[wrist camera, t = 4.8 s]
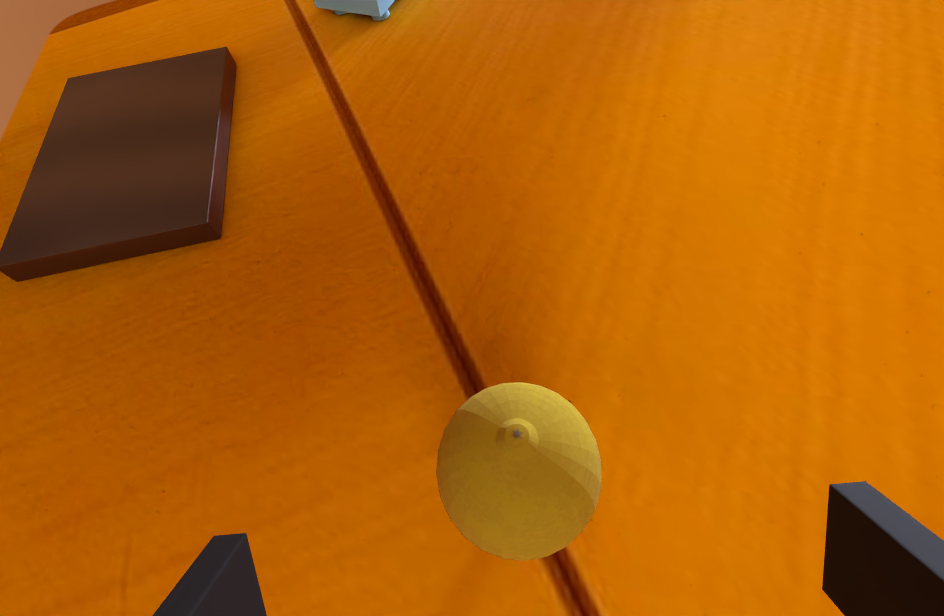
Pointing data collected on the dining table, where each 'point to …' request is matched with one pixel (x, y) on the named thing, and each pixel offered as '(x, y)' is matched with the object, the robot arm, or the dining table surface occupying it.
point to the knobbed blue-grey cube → (357, 7)
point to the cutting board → (127, 167)
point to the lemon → (519, 471)
